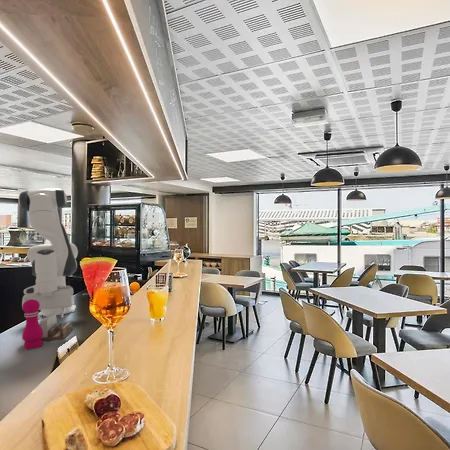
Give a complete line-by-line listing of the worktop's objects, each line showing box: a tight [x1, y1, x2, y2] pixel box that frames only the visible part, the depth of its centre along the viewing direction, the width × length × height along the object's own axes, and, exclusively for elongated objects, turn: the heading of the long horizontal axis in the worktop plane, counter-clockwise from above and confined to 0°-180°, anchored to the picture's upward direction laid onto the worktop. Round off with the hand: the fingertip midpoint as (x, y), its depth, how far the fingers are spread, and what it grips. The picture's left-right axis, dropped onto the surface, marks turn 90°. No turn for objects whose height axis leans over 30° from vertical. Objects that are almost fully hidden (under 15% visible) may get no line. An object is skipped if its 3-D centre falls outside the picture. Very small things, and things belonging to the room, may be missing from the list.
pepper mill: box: [21, 296, 43, 350], centre depth 135 cm, size 7×7×20 cm
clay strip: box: [40, 313, 58, 338], centre depth 148 cm, size 12×2×7 cm, turn 9°
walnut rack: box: [40, 321, 74, 342], centre depth 148 cm, size 14×15×4 cm
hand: (49, 318), depth 148 cm, fingers open, 8 cm apart
